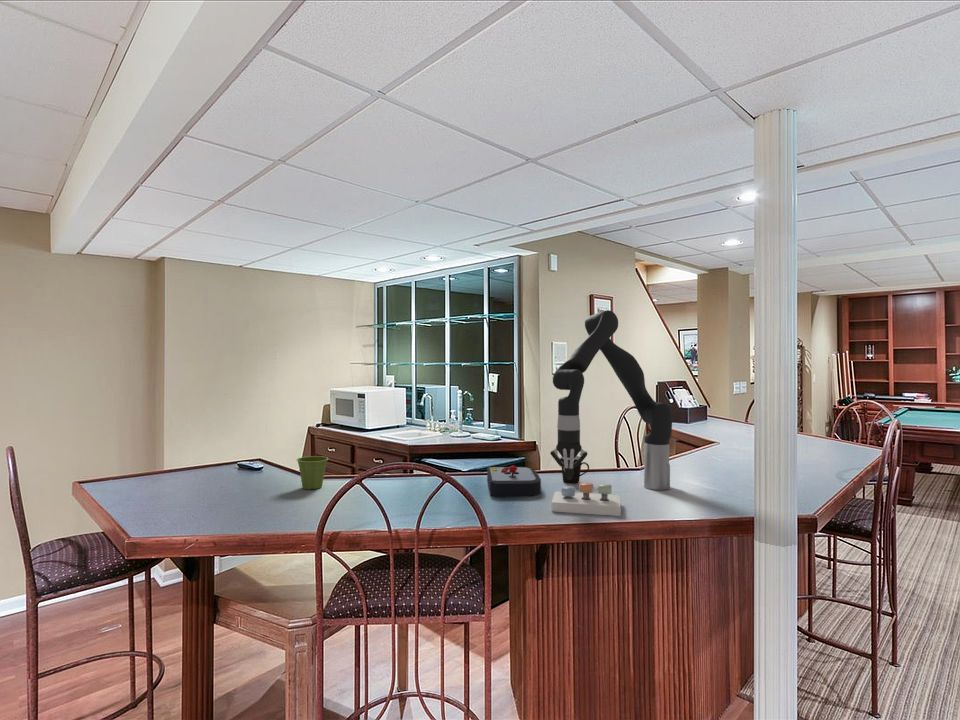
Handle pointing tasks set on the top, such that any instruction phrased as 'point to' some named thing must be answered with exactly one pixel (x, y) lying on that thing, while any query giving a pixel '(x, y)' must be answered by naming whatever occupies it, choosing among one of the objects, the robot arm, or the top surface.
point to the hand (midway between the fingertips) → (569, 478)
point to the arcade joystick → (513, 482)
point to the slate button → (568, 491)
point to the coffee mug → (575, 471)
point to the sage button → (604, 491)
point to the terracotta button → (586, 489)
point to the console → (587, 504)
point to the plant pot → (312, 471)
